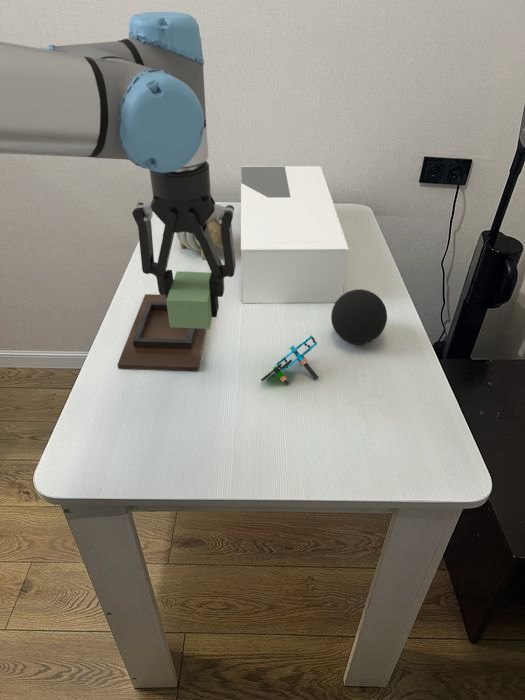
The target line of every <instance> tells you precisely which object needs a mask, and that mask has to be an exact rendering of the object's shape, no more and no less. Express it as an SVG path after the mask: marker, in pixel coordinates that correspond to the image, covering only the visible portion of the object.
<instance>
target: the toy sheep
mask: <svg viewBox="0 0 525 700" xmlns="http://www.w3.org/2000/svg"><path fill="white" fill-rule="evenodd" d="M207 225H208V228H209V232H210V235H211V237H212V240H213V242H214V245H215V247H216V250H217V252H219V246H221V245H222V237H221V224H220V223H219V222H218V221H217V217H216V215H215V214H212V215H211V217H210V218H209V219H208V221H207ZM175 234H176V237H177V239H178V240H179V247H180V249H185V248H187V249H189V250H191V251H192V250H193V251H199V252H200V256H201V257H200V258H201V259H202V260H206V258H205V256H204V253H203V251H202V248H201V246H200V244H199V241H197V240H196V237H195V235H194V233H188V232H180V233H175Z"/></svg>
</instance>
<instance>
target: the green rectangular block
mask: <svg viewBox="0 0 525 700" xmlns="http://www.w3.org/2000/svg"><path fill="white" fill-rule="evenodd" d="M210 275H211V272H208V271H207V272H205V271H204V272H203V271H178V270H176V272H175V275H174V276H173V283H172V286H171V288H170V291H169V294H168V297H167V300H166V302H167V309H168V316H169V323H170V327H174V328H199V329H206V330H210V328H211V325H212V320H213V317H212V312H211V298H210V288H209V279H210Z"/></svg>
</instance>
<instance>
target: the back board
mask: <svg viewBox="0 0 525 700" xmlns="http://www.w3.org/2000/svg"><path fill="white" fill-rule="evenodd" d="M206 334H207V329H199V328H174V327H170V323H169V316H168V309H167V302H166V295H160V294H153V293H150V294H149V293H146V294H144V296H143V299H142V302H141V303H140V306H139V309H138V311H137V314H136V316H135V319H134V321H133V324H132V326H131V329H130V331H129V334H128V337H127V339H126V342H125V344H124V346H123V349H122V352H121V354H120V356H119V359H118V361H117V369H119V370H145V371H146V370H147V371H148V370H149V371H177V372H178V371H179V372H199V368H200V364H201V359H202V354H203V348H204V344H205V340H206Z"/></svg>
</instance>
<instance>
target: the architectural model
mask: <svg viewBox="0 0 525 700" xmlns="http://www.w3.org/2000/svg"><path fill="white" fill-rule="evenodd" d="M349 250H350V249H349V246H348V242H347V239H346V236H345V234H344V230H343V227H342V224H341V222H340V219H339V216H338V213H337V209H336V207H335V204H334V201H333V197H332V196H331V192H330V189H329V187H328V184H327V180H326V178H325V174H324V172H323V169H322V166H321V165H241V166H240V251H241V253H240V254H241V255H240V256H241V258H240V259H241V260H240V261H241V300H240V301H241V304H308V303H309V304H313V303H314V304H317V303H318V304H319V303H326V304H327V303H328V304H329V303H333V304H335V303H336V301H337V300H338V299H339V298H340V297H341V296H342V295H343V292H344V287H345V286H344V285H345V280H346V279H345V277H346V272H347V264H348V258H349Z"/></svg>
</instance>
